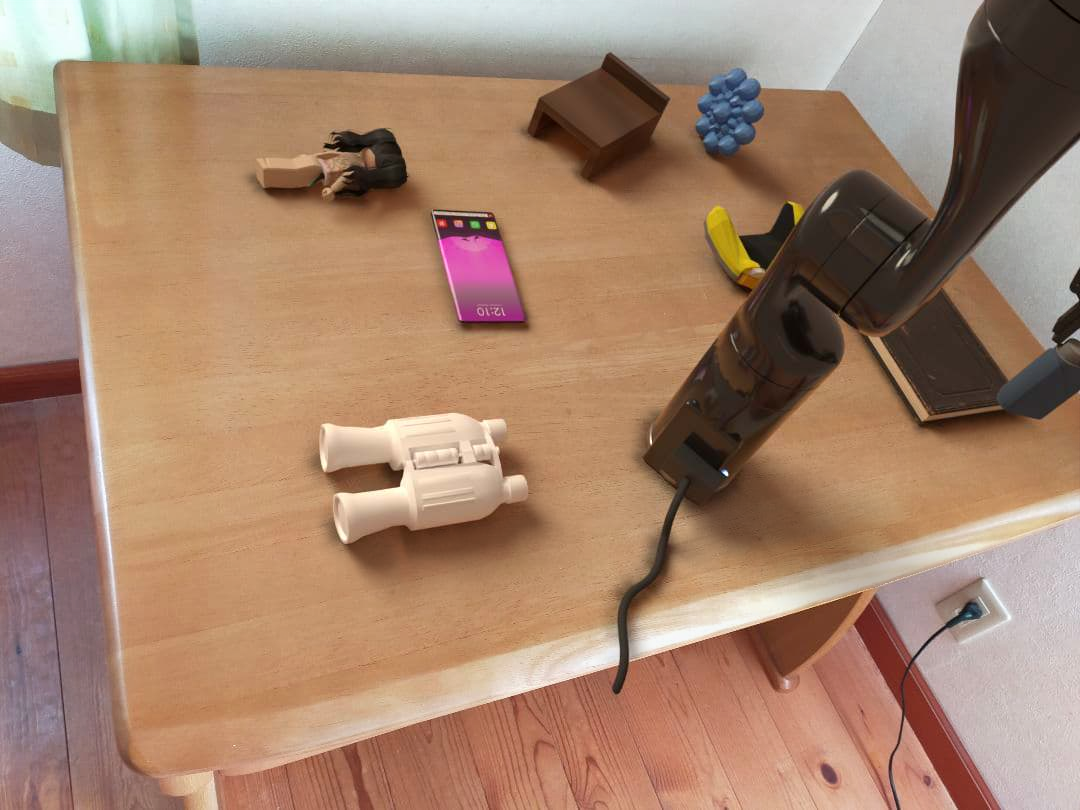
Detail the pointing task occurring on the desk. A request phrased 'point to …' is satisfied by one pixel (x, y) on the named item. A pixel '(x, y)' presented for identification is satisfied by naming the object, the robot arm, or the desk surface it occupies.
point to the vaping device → (1044, 382)
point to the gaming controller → (748, 243)
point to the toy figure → (341, 165)
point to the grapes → (729, 112)
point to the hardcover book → (940, 365)
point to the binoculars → (421, 472)
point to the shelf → (603, 112)
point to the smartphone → (477, 267)
